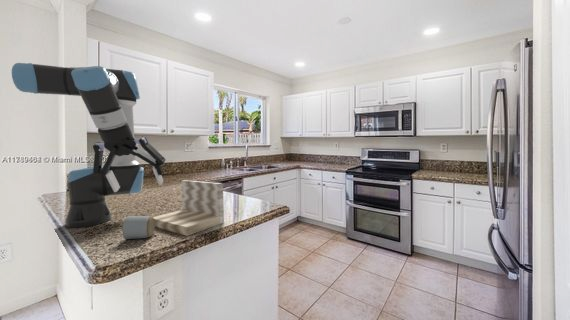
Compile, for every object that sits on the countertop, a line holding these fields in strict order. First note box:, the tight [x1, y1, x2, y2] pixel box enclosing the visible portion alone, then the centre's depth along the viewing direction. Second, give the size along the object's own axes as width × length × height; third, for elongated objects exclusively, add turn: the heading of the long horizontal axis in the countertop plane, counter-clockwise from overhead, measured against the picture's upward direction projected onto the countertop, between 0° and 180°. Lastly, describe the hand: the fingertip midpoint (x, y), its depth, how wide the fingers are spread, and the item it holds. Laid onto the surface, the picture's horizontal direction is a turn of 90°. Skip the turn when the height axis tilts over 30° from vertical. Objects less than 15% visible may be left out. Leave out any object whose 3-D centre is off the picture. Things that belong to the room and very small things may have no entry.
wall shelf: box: [152, 179, 225, 237], centre depth 97 cm, size 24×17×16 cm
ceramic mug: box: [121, 215, 156, 240], centre depth 85 cm, size 11×8×8 cm
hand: (139, 186), depth 79 cm, fingers open, 13 cm apart
